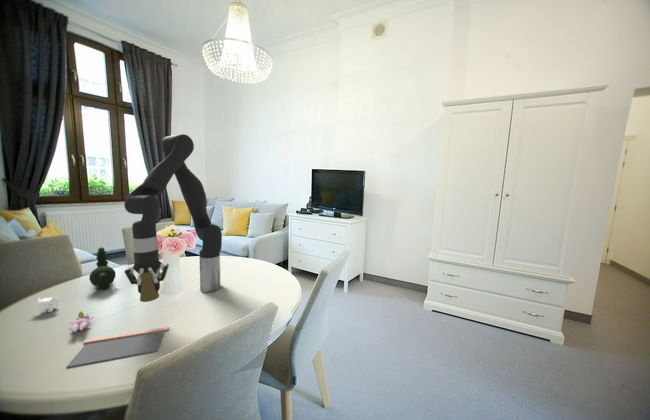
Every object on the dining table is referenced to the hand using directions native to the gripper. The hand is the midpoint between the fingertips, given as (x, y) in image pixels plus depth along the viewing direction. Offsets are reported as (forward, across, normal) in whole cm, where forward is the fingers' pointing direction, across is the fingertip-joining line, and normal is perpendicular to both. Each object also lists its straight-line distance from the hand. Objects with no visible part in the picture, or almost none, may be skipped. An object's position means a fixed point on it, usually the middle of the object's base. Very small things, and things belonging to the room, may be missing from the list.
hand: (149, 292), depth 94 cm
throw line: (+12, +5, +8) cm, 15 cm away
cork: (+3, 0, 0) cm, 3 cm away
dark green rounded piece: (+12, +30, -44) cm, 54 cm away
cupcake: (+12, +11, -54) cm, 57 cm away
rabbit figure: (+12, +22, -3) cm, 25 cm away
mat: (+12, +5, +15) cm, 20 cm away
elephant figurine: (+12, +40, -21) cm, 46 cm away
